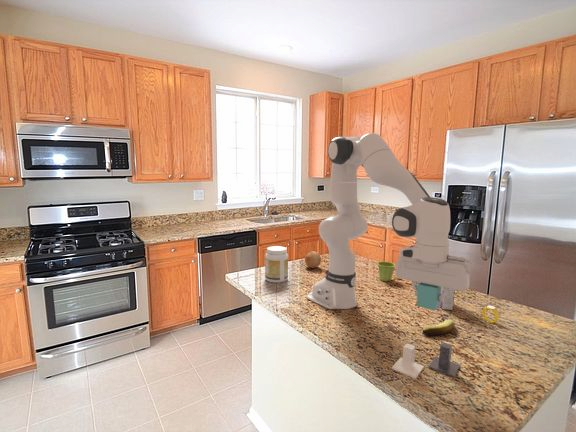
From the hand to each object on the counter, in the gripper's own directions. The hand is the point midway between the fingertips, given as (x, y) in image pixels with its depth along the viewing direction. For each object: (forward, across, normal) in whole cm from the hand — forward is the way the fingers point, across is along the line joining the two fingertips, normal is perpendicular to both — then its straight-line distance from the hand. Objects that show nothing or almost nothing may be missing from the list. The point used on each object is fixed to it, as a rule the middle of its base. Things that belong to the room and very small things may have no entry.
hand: (429, 298), depth 96 cm
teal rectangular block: (+2, 0, 0) cm, 2 cm away
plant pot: (+19, +42, -64) cm, 79 cm away
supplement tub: (+18, +84, -23) cm, 89 cm away
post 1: (+20, +3, +7) cm, 22 cm away
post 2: (+21, -5, -1) cm, 21 cm away
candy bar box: (+20, +9, -50) cm, 55 cm away
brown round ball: (+18, +83, -53) cm, 100 cm away
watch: (+21, -9, -46) cm, 52 cm away
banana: (+21, +3, -25) cm, 33 cm away
